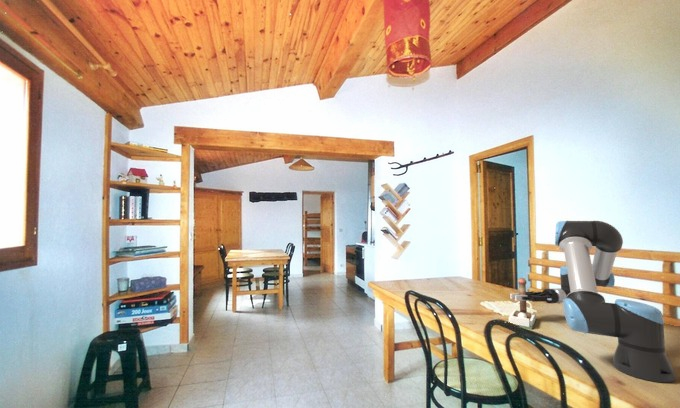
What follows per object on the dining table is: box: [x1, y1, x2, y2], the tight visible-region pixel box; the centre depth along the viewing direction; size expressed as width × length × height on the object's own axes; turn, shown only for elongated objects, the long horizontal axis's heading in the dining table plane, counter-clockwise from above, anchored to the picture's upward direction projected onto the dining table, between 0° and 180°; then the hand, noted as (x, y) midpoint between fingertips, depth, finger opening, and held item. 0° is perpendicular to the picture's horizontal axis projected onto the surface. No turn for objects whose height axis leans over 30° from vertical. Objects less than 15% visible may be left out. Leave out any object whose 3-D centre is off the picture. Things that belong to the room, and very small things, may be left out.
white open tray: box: [508, 308, 537, 330], centre depth 156 cm, size 20×10×4 cm, turn 142°
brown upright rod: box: [515, 277, 532, 320], centre depth 160 cm, size 5×7×21 cm
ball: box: [518, 312, 527, 318], centre depth 156 cm, size 4×4×4 cm
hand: (513, 297), depth 160 cm, fingers closed on brown upright rod, 3 cm apart
